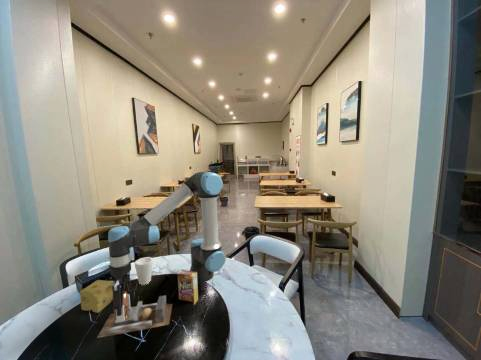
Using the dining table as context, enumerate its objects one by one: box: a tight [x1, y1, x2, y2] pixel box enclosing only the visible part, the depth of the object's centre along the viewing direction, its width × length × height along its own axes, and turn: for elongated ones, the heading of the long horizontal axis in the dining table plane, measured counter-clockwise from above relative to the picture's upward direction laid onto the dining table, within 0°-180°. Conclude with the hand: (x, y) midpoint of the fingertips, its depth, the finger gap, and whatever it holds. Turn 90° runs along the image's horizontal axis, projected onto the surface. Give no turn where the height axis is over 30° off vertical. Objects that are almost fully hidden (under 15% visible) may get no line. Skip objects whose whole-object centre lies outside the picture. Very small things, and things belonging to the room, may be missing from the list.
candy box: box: [177, 269, 199, 306], centre depth 99 cm, size 9×4×15 cm, turn 73°
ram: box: [114, 291, 144, 327], centre depth 86 cm, size 9×8×12 cm
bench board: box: [96, 295, 173, 339], centre depth 87 cm, size 27×13×8 cm, turn 103°
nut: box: [142, 308, 152, 319], centre depth 88 cm, size 4×4×4 cm
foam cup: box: [134, 256, 153, 286], centre depth 117 cm, size 10×9×13 cm
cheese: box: [79, 279, 115, 313], centre depth 99 cm, size 10×11×10 cm
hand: (123, 314), depth 86 cm, fingers closed on ram, 7 cm apart
